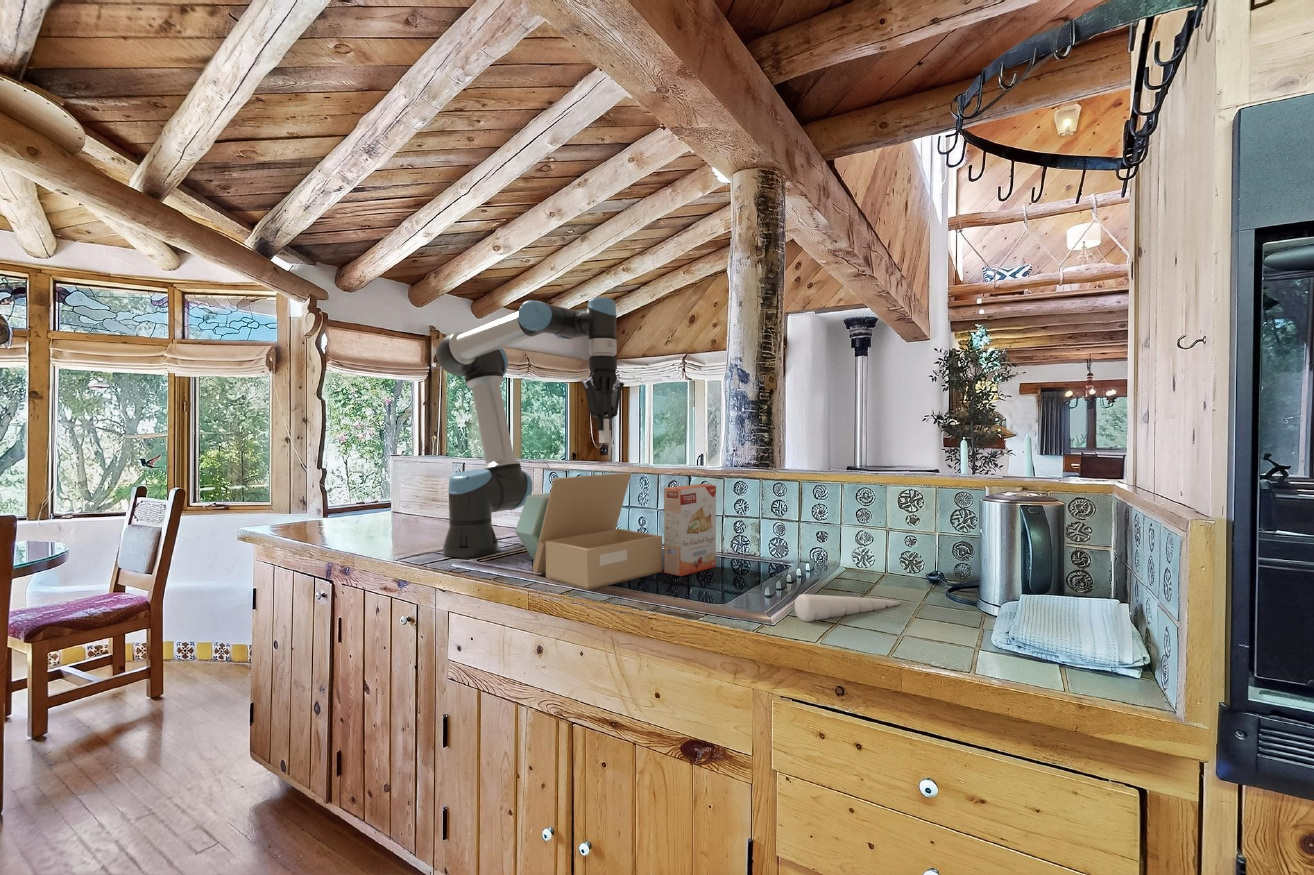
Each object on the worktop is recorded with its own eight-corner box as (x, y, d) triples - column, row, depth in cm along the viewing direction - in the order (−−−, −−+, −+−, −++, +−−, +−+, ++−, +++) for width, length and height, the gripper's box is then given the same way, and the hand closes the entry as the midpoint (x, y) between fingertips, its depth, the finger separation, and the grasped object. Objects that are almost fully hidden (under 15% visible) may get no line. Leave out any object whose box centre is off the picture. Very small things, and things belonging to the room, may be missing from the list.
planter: (558, 577, 160) (521, 518, 152) (541, 573, 166) (504, 515, 157) (598, 535, 171) (565, 478, 162) (580, 532, 176) (548, 476, 167)
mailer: (546, 577, 142) (545, 540, 142) (619, 562, 158) (619, 528, 158) (587, 590, 131) (587, 550, 130) (662, 571, 147) (662, 536, 147)
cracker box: (682, 577, 141) (681, 488, 141) (662, 573, 145) (662, 487, 145) (717, 567, 151) (717, 484, 151) (699, 563, 155) (698, 483, 155)
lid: (536, 573, 144) (531, 569, 146) (611, 558, 161) (606, 554, 162) (558, 482, 137) (553, 478, 139) (634, 475, 154) (629, 472, 155)
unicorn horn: (914, 610, 115) (914, 585, 115) (807, 625, 107) (807, 598, 107) (897, 603, 119) (897, 579, 119) (793, 618, 111) (792, 592, 111)
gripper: (591, 352, 156) (593, 443, 156) (630, 356, 165) (631, 442, 165) (575, 355, 161) (576, 443, 161) (613, 359, 170) (614, 442, 170)
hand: (604, 442), depth 163 cm, fingers closed
